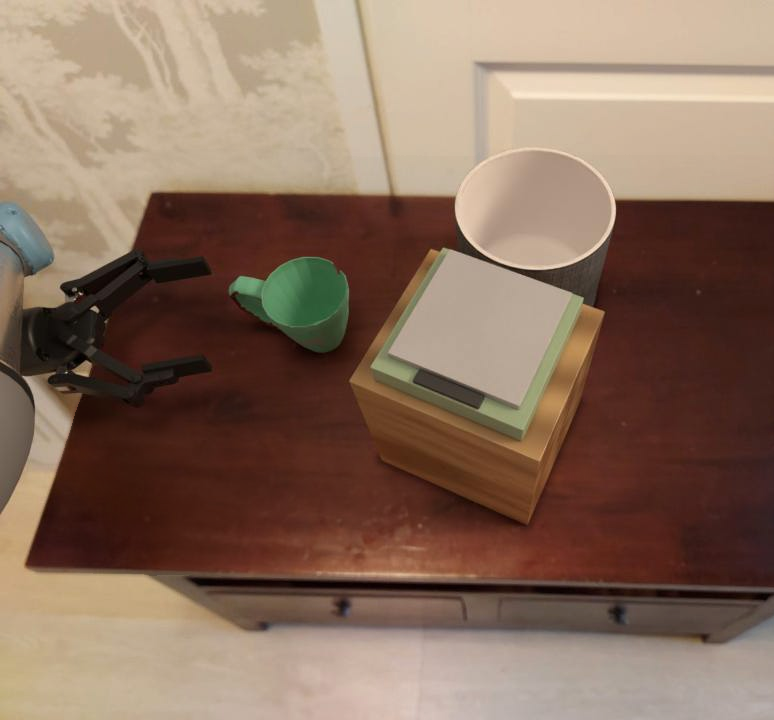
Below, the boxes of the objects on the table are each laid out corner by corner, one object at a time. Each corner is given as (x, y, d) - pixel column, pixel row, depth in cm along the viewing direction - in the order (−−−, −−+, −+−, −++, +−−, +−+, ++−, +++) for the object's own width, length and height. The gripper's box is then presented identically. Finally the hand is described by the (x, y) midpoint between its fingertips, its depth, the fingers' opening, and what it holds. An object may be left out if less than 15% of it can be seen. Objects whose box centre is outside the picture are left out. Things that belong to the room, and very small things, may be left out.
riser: (527, 525, 71) (539, 461, 53) (381, 460, 75) (348, 381, 57) (579, 403, 78) (605, 311, 60) (443, 349, 82) (430, 248, 64)
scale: (521, 441, 54) (523, 426, 51) (374, 380, 57) (368, 362, 54) (580, 312, 60) (585, 292, 57) (444, 262, 63) (442, 241, 60)
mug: (372, 310, 84) (358, 263, 76) (350, 376, 80) (332, 334, 71) (264, 293, 86) (239, 244, 77) (237, 357, 81) (206, 313, 73)
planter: (587, 232, 90) (605, 144, 76) (604, 343, 82) (627, 266, 68) (458, 236, 90) (453, 149, 76) (461, 348, 82) (455, 273, 68)
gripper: (48, 276, 83) (218, 248, 85) (22, 459, 71) (220, 422, 73) (9, 237, 76) (195, 208, 78) (-26, 433, 64) (193, 393, 66)
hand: (207, 311), depth 75 cm, fingers open, 13 cm apart
